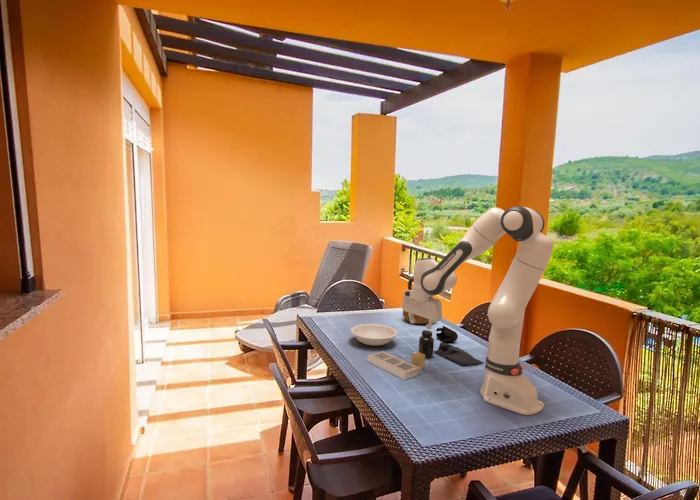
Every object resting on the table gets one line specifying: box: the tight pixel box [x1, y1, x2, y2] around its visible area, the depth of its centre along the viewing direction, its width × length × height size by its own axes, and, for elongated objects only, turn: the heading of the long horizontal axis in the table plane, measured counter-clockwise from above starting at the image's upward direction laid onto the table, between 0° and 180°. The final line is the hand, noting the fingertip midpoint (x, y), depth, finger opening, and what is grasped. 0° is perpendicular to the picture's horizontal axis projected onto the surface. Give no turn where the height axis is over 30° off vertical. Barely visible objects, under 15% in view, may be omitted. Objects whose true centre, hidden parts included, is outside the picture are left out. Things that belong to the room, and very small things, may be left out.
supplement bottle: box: [417, 329, 435, 360], centre depth 193 cm, size 7×7×12 cm
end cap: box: [435, 325, 458, 345], centre depth 217 cm, size 10×7×7 cm
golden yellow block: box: [411, 351, 426, 370], centre depth 179 cm, size 4×4×6 cm
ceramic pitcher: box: [402, 275, 429, 325], centre depth 249 cm, size 20×20×30 cm
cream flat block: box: [367, 350, 422, 381], centre depth 178 cm, size 23×10×3 cm, turn 39°
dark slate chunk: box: [433, 342, 484, 366], centre depth 193 cm, size 15×22×5 cm
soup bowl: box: [350, 323, 398, 347], centre depth 208 cm, size 24×24×7 cm
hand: (420, 325), depth 178 cm, fingers open, 8 cm apart
